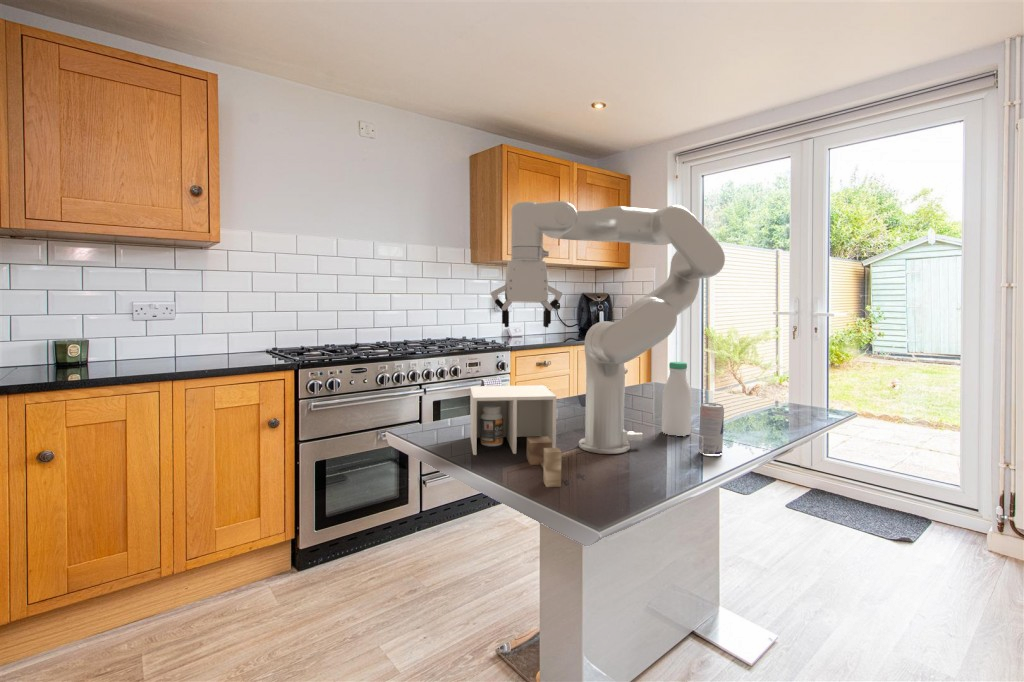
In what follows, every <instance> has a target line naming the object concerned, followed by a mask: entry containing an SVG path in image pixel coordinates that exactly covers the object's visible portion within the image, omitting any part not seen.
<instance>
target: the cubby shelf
mask: <svg viewBox="0 0 1024 682" xmlns="http://www.w3.org/2000/svg"><path fill="white" fill-rule="evenodd" d="M469 388H470V389H469V391H470V393H469V394H470V395H469V396H470V397H469V398H470V399H469V401H470V402H469V403H470V407H469V409H470V410H469V411H470V413H469V414H470V421H469V425H470V428H469V430H470V431H469V432H470V435H469V438H470V444H471V451H472V455H473V456H477V454H478V453H477V451H478V450H477V439H481V415H482V414H483V413H484V412H483V405H487V404H497V405H500V406H501V411H500V413H501V414H502V416H503V438H506V440H507V443H508V444H509V447H510V449H511V452H512V454H513V455H514V454H515V455H516V454H517V448H518V447H517V443H518V442H517V441H518V440H517V438H518V437H525V438H526V437H549V439H550V440H551V441H552V448H557V395H556V394H555V393H554V392H552V391H551V390H550V389H549V388H548V387H547V386H546V385H542V384H538V385H534V384H533V385H532V384H531V385H478V386H476V385H474V386H472V385H471V386H470V387H469Z"/></svg>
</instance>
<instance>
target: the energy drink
mask: <svg viewBox="0 0 1024 682" xmlns="http://www.w3.org/2000/svg"><path fill="white" fill-rule="evenodd" d="M724 415H725V409H724V405H723V404H720V403H714V402H704V403H701V404H700V406H699V426H698V427H699V428H698V429H699V430H698V432H699V433H698V453H699V452H701V453H704V454H720V453H722V454H723V446H724V443H723V442H724V420H725V418H724V417H725V416H724Z"/></svg>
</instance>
